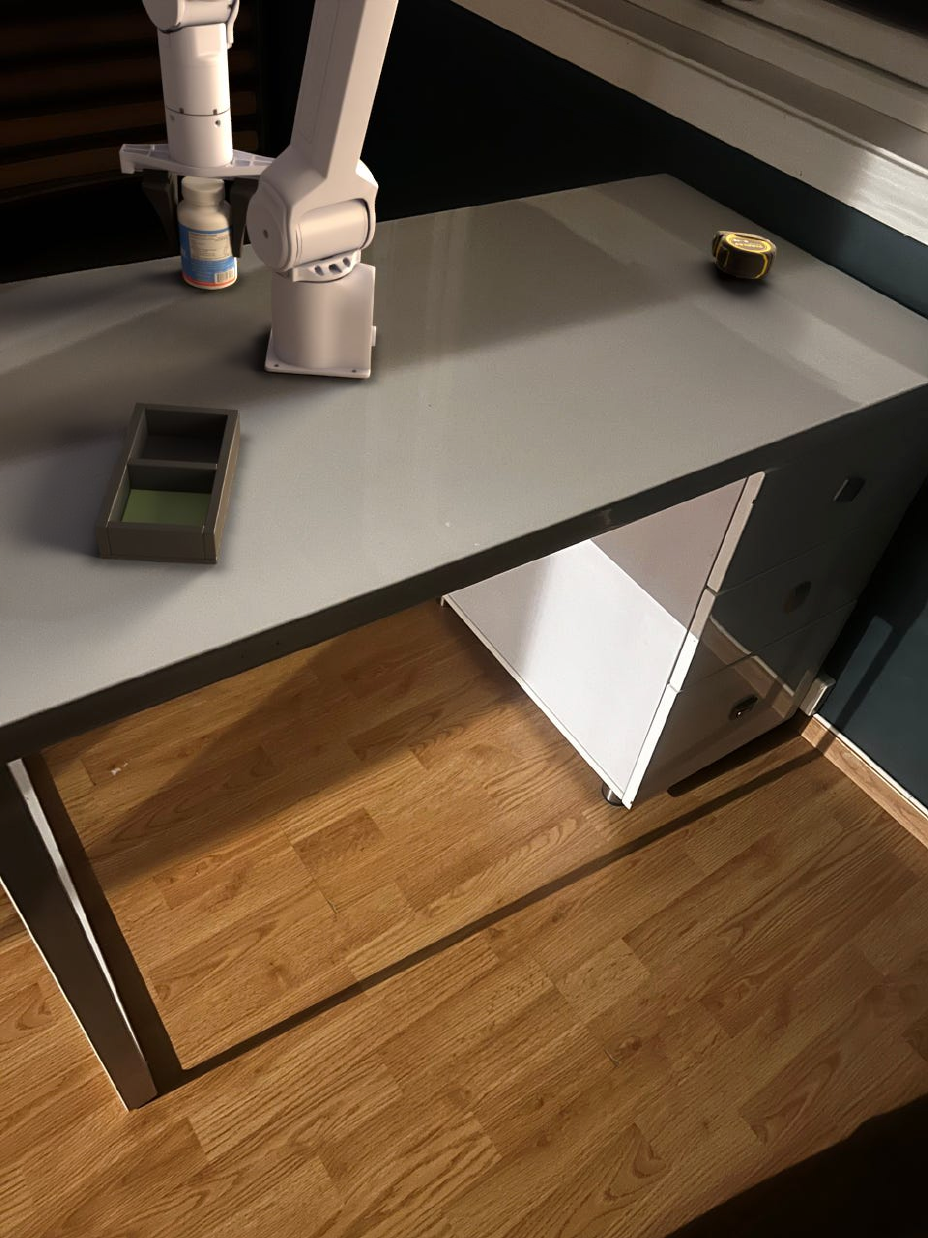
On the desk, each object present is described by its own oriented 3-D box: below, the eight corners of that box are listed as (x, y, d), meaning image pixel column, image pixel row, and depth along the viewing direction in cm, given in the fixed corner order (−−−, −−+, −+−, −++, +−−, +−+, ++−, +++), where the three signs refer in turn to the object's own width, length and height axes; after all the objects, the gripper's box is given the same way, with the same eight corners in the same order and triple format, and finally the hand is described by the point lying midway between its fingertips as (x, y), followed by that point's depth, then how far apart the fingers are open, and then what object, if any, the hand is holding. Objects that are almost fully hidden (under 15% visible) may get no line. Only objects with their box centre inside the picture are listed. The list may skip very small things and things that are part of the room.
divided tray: (241, 439, 81) (239, 409, 79) (217, 564, 70) (214, 533, 68) (140, 432, 80) (136, 402, 78) (100, 558, 69) (94, 527, 67)
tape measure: (762, 262, 117) (773, 232, 115) (772, 289, 112) (783, 257, 110) (707, 255, 117) (716, 224, 114) (714, 281, 112) (724, 249, 110)
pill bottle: (186, 263, 101) (177, 166, 94) (239, 267, 102) (234, 172, 95) (179, 289, 97) (169, 190, 90) (234, 293, 98) (229, 195, 91)
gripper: (282, 97, 91) (285, 239, 101) (122, 81, 90) (140, 226, 99) (276, 125, 86) (279, 270, 96) (107, 107, 85) (127, 258, 94)
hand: (208, 250), depth 97 cm, fingers closed on pill bottle, 5 cm apart
